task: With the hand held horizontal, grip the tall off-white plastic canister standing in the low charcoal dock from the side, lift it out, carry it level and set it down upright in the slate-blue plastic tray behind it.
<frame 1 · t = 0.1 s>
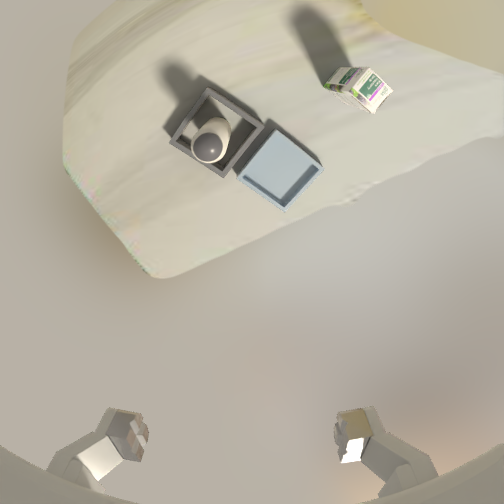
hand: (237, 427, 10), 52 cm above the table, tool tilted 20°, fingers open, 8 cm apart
syrup box: (341, 85, 46), on the table
canister: (212, 138, 46), in the dock
tray: (279, 169, 56), on the table
dock: (217, 130, 52), on the table
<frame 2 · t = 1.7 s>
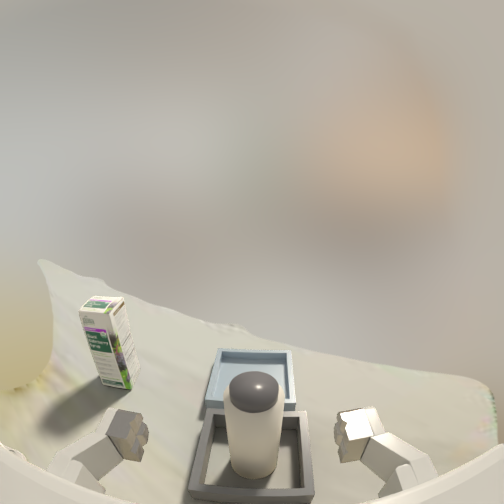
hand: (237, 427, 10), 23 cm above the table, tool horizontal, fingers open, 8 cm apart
syrup box: (122, 378, 41), on the table
canister: (254, 431, 25), in the dock
tray: (252, 383, 42), on the table
dock: (254, 461, 27), on the table
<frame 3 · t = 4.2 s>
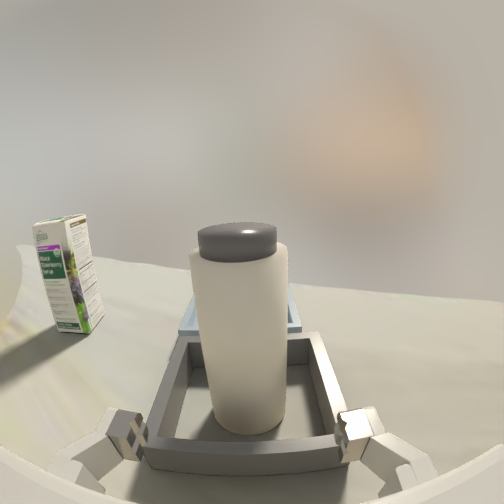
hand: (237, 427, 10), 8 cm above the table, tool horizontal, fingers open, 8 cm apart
syrup box: (82, 324, 33), on the table
canister: (243, 337, 18), in the dock
tray: (242, 318, 34), on the table
dock: (249, 408, 20), on the table
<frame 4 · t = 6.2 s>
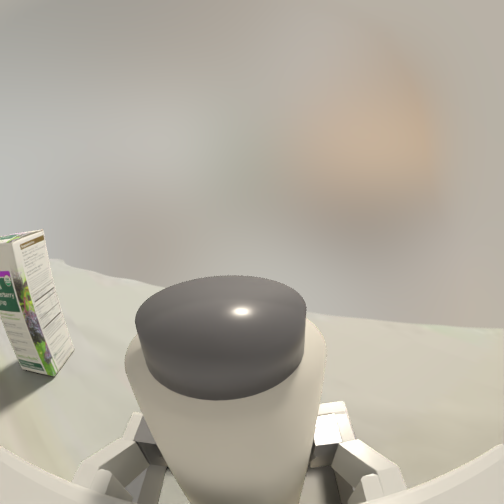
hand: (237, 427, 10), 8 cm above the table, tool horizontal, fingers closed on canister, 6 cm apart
syrup box: (49, 361, 24), on the table
canister: (238, 455, 9), in the dock, touching gripper
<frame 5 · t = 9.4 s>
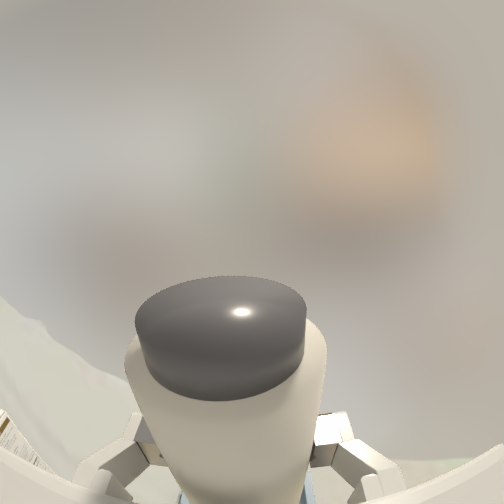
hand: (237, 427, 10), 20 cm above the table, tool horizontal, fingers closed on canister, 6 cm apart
syrup box: (51, 502, 14), on the table
canister: (239, 456, 9), point 19 cm above the table, touching gripper
when the fingers open (10 cm above the table, at t = 12.4 s): canister drops 1 cm, resting on tray.
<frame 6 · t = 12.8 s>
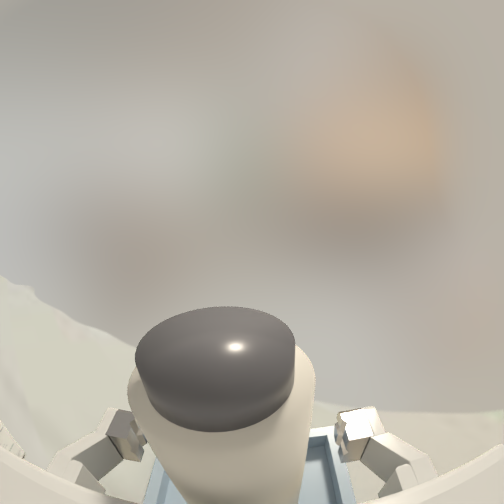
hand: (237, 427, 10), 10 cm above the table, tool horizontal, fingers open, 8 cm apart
canister: (237, 468, 9), in the tray, point 8 cm above the table
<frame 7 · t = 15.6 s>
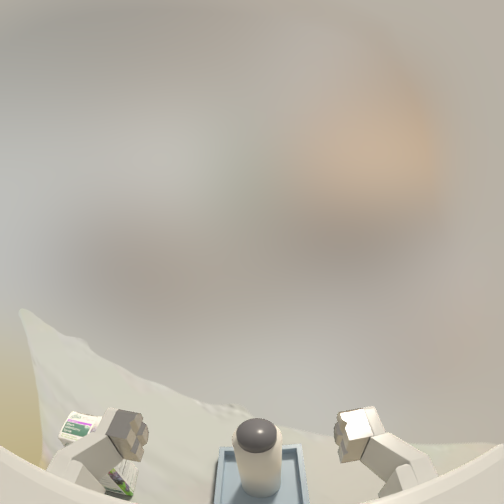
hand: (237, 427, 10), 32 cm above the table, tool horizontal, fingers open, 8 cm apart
syrup box: (121, 480, 29), on the table
canister: (259, 462, 28), in the tray, point 8 cm above the table
tray: (261, 484, 30), on the table
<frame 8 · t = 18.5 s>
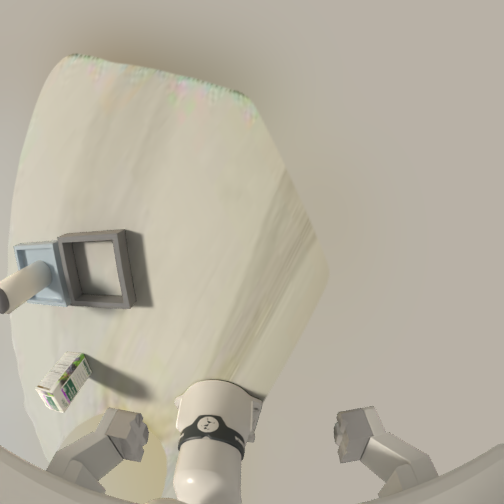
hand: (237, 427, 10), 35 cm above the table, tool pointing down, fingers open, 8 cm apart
syrup box: (79, 361, 52), on the table
canister: (21, 286, 38), in the tray, point 8 cm above the table
tray: (44, 271, 46), on the table
dock: (99, 267, 45), on the table
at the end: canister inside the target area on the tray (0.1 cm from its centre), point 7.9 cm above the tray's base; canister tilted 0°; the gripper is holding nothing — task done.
